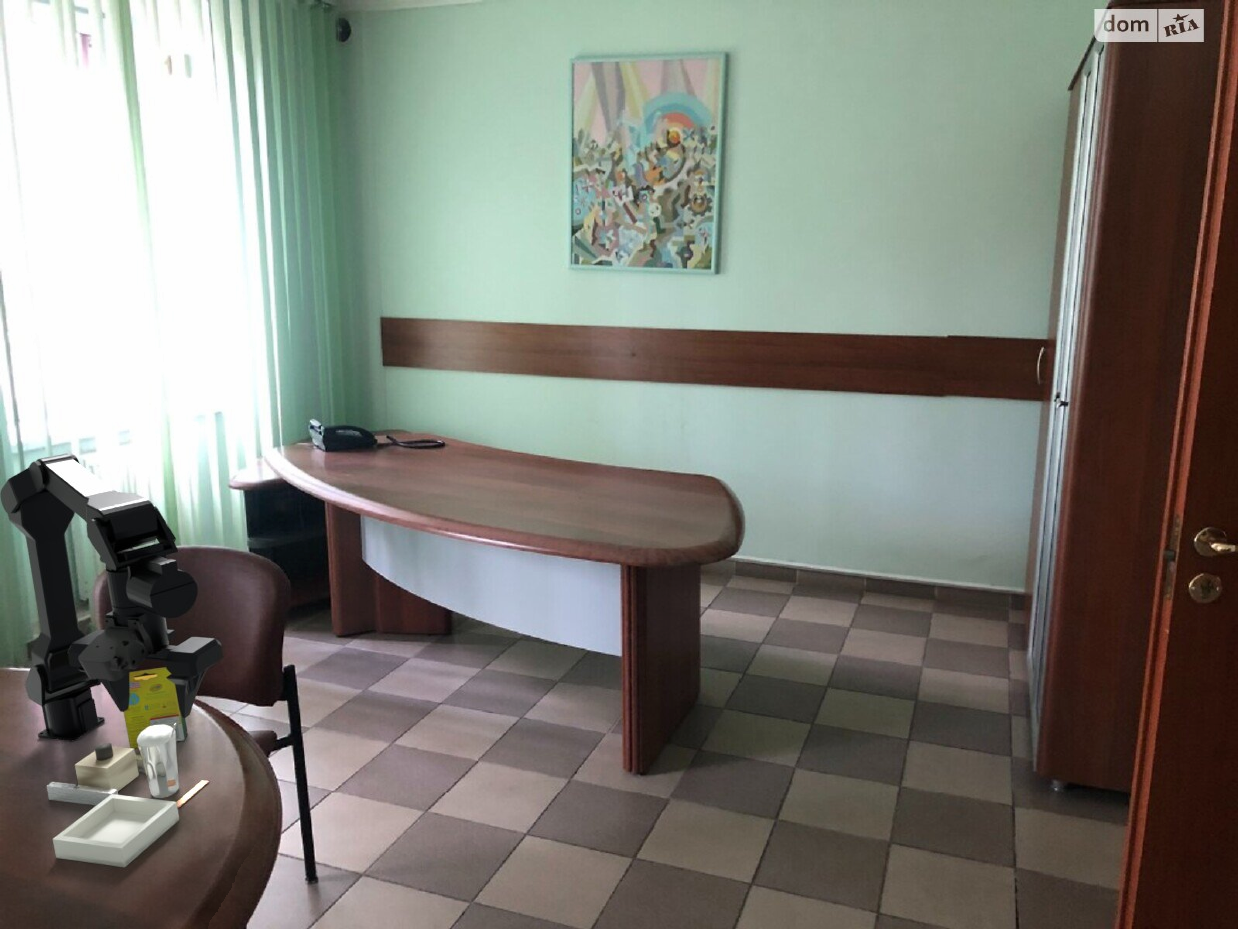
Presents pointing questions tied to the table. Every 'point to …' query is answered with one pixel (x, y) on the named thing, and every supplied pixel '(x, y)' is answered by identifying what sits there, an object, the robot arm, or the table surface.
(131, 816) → the tray
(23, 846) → the table surface
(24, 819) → the table surface
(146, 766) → the milkshake
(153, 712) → the crayon box
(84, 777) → the slider
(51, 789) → the slide rails
